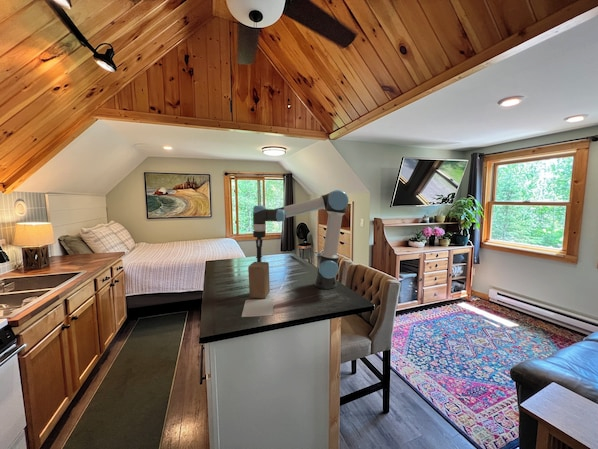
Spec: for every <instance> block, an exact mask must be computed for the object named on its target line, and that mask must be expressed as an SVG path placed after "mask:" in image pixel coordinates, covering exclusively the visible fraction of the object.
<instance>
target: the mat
mask: <svg viewBox="0 0 598 449" xmlns="http://www.w3.org/2000/svg"><path fill="white" fill-rule="evenodd" d="M268 316H269V317H270V316H271V317H272V316H273V317H274V298H265V299H260V298H256V299H245V302H244V306H243V310H242V313H241V318H249V317H250V318H251V317H253V318H254V317H268Z"/></svg>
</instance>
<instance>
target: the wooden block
mask: <svg viewBox="0 0 598 449" xmlns="http://www.w3.org/2000/svg"><path fill="white" fill-rule="evenodd" d="M269 264H270V263H269V262H268V261H261V262H257V261H253V262H252V263H251V264H249V266H248V268H247V269H248V286H249V287H248V288H249V298H250V299H251V298H252V299H267V297H268V295H269V294H270V292H271V291H270V290H271V289H270V288H271V287H270V286H271V284H270V267H269V266H270V265H269Z"/></svg>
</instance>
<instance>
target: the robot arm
mask: <svg viewBox="0 0 598 449" xmlns="http://www.w3.org/2000/svg"><path fill="white" fill-rule="evenodd" d="M348 205H349V197H348V195H347V193H346V192H344V190H340V189H336V190H333V191H330V192H329V193H327V194H323V195H321V196H320V197H318V198H317V197H316V198H314V199H309V200H305V201H302V202H301V201H300V202H297V203H292V204H289V205H286V206H282V207H277V208H272V209H271V208H269V209H268V208H266V207H267V206H266V205H254V206H253V209H252V212H253V213H252V218H253V219H252V224H253V225H252V226H251V227H252V228H253V231H252V235H253V237H254V238H256V239H255V244H256V245H255V246H256V256H255V258H256V262H262V258H263V255H262V254H263V253H262V247H263V240H264V239H262V238H265V237H266V222H278V223H280V222H284V221H285V219H286V218H290V217H294V216H299V215H302V214H306V213H311V212H314V211H319V210H324V211H325V210H326V213H327V214H328V215H327V222H326V229H325V236H324V245H323V251H321V252H317V254H316V258H317V259H316V260H317V261H316V262H317V263H316V265H317V266H316V273H317V274H316V277H315V279H314V287H316V288H318V289H322V290H328V289H329V290H330V289H331V288H332V289H334V288H337V279H336V276H337V275H338V273H339V260H340V259H339V258H340V256H338V247H339V242H340V235H341V228H342V227H341V226H342V221H343V216H344V215H345V214H346V210H347V207H348Z"/></svg>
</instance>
